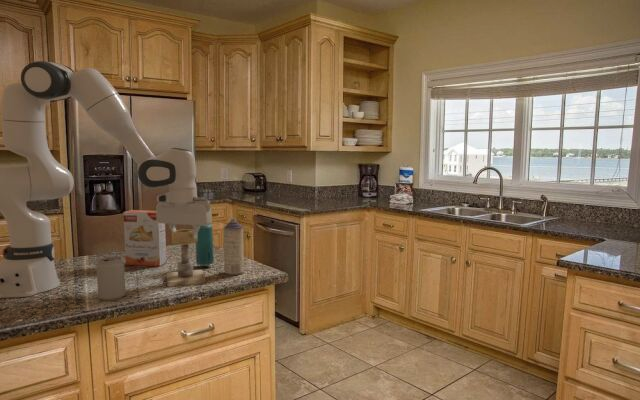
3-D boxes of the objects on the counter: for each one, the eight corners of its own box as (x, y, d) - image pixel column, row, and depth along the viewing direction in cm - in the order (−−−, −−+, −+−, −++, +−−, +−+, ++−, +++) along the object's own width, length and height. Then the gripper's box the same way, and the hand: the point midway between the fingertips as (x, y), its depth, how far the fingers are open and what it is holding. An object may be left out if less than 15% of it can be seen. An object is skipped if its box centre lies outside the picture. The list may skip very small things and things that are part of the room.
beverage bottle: (209, 269, 163) (208, 216, 161) (192, 268, 164) (191, 215, 162) (216, 265, 169) (215, 213, 167) (201, 264, 171) (199, 213, 168)
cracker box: (124, 265, 168) (122, 211, 165) (133, 261, 173) (131, 209, 171) (159, 267, 166) (157, 212, 163) (167, 263, 172) (165, 210, 169)
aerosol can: (247, 272, 159) (246, 218, 157) (232, 276, 154) (231, 220, 152) (235, 269, 164) (235, 216, 161) (220, 273, 158) (219, 218, 156)
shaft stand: (167, 286, 142) (166, 250, 141) (166, 276, 154) (165, 243, 152) (205, 283, 147) (204, 247, 145) (202, 273, 158) (201, 240, 156)
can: (106, 293, 136) (104, 255, 135) (130, 293, 136) (128, 255, 134) (93, 301, 129) (90, 261, 127) (118, 301, 128) (116, 261, 127)
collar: (171, 243, 146) (171, 231, 146) (182, 240, 152) (182, 229, 151) (187, 244, 144) (187, 232, 144) (197, 241, 150) (197, 229, 150)
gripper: (215, 196, 146) (216, 237, 147) (165, 195, 153) (166, 234, 154) (204, 198, 140) (205, 241, 141) (152, 196, 147) (154, 237, 148)
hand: (184, 237), depth 148 cm, fingers closed on collar, 6 cm apart
